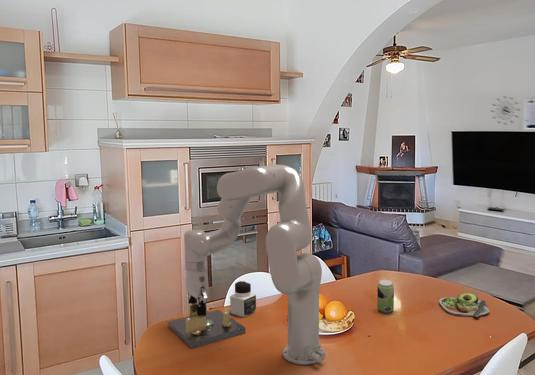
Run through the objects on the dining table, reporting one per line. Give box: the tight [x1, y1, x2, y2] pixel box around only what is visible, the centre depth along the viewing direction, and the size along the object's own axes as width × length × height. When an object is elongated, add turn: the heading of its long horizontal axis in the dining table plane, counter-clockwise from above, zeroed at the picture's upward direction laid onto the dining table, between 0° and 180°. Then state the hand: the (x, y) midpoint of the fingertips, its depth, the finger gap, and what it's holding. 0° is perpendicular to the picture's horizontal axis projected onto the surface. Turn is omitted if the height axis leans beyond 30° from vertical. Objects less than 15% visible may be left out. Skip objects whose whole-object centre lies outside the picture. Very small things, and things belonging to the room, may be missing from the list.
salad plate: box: [438, 292, 490, 318], centre depth 175 cm, size 19×18×5 cm
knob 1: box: [186, 315, 206, 335], centre depth 152 cm, size 3×6×6 cm, turn 123°
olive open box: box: [187, 303, 208, 318], centre depth 166 cm, size 3×6×6 cm, turn 123°
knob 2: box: [222, 306, 231, 327], centre depth 159 cm, size 3×6×6 cm, turn 0°
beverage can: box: [376, 279, 395, 314], centre depth 174 cm, size 6×7×12 cm
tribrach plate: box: [167, 309, 246, 349], centre depth 160 cm, size 20×20×4 cm
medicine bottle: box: [229, 280, 257, 318], centre depth 175 cm, size 7×7×12 cm
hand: (197, 312), depth 166 cm, fingers open, 6 cm apart
